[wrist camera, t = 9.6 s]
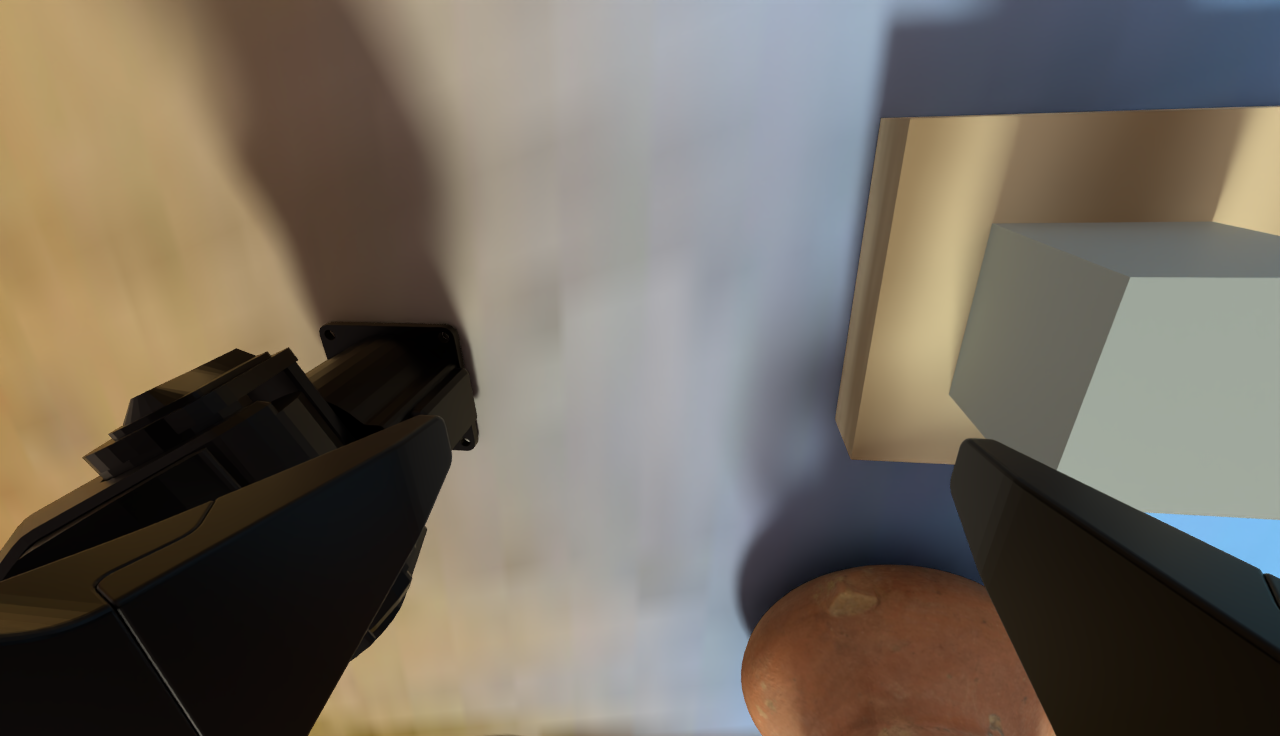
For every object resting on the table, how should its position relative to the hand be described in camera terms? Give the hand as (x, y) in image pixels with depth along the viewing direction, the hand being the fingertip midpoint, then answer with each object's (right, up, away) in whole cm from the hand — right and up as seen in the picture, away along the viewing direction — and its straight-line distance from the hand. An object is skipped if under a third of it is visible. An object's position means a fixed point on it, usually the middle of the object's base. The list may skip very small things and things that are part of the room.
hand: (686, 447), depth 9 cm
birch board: (+14, +4, +11) cm, 18 cm away
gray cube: (+13, +3, +8) cm, 16 cm away
